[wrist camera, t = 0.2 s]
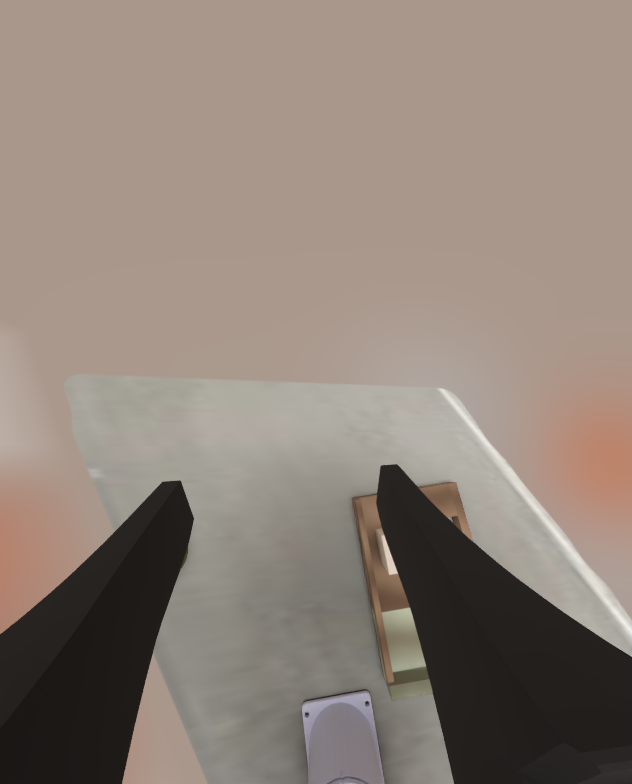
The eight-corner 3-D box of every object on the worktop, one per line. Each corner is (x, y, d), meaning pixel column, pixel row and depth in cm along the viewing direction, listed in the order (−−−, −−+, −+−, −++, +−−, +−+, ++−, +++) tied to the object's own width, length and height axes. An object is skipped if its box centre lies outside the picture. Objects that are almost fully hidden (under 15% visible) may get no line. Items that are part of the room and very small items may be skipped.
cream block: (412, 558, 35) (424, 569, 31) (381, 564, 35) (389, 574, 31) (405, 524, 36) (415, 530, 32) (374, 529, 36) (381, 535, 32)
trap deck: (497, 654, 34) (519, 676, 30) (383, 674, 33) (391, 700, 29) (449, 482, 39) (463, 482, 36) (352, 498, 39) (355, 500, 35)
